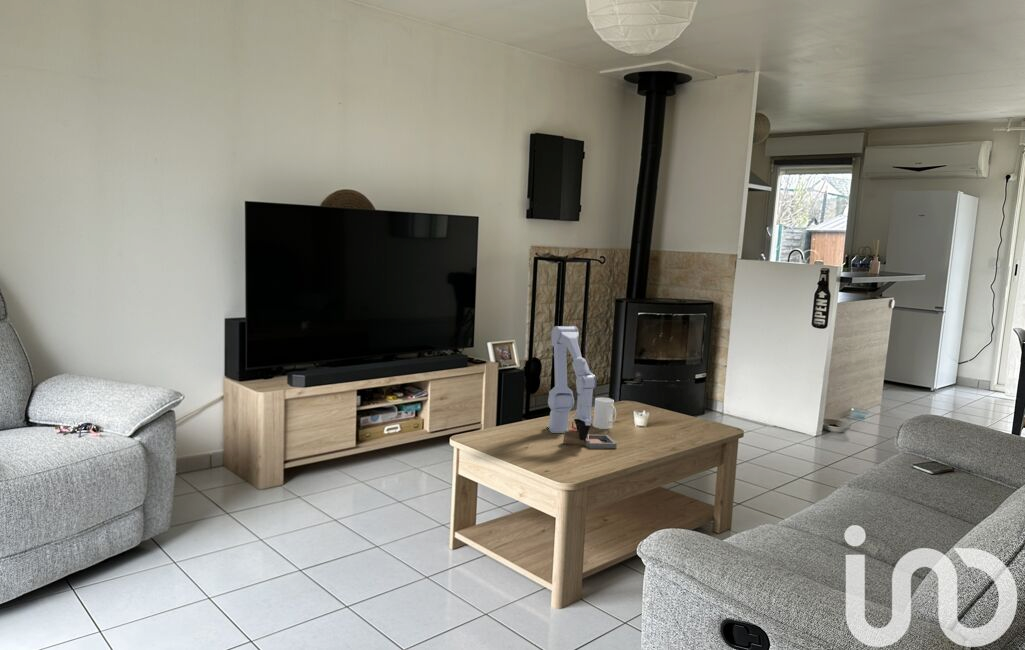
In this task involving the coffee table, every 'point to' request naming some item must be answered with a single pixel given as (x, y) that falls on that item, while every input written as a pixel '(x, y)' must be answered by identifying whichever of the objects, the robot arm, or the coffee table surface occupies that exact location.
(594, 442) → the tile
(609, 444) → the frame
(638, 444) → the coffee table surface
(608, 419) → the mug
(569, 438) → the plank on grey base
